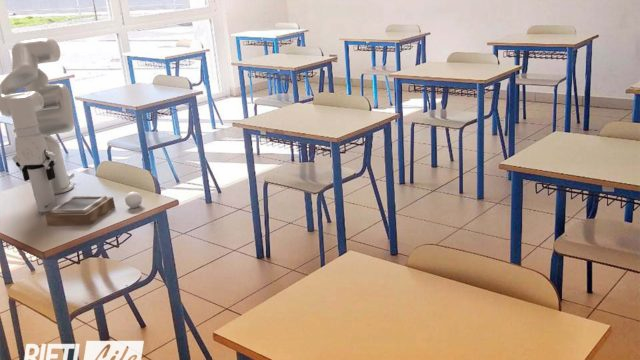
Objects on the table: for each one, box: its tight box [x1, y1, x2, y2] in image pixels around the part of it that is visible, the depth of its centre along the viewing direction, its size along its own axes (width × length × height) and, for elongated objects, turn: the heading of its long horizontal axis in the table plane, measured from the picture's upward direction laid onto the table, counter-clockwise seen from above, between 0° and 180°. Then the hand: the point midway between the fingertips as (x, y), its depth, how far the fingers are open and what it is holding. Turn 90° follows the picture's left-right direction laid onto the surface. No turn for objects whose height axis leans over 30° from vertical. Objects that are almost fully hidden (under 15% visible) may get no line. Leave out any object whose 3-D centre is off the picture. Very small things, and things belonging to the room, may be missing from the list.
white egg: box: [124, 191, 143, 209], centre depth 223 cm, size 8×6×6 cm
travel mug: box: [27, 164, 58, 215], centre depth 225 cm, size 6×7×20 cm
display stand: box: [44, 195, 116, 227], centre depth 218 cm, size 16×16×5 cm
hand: (40, 179), depth 224 cm, fingers open, 9 cm apart
